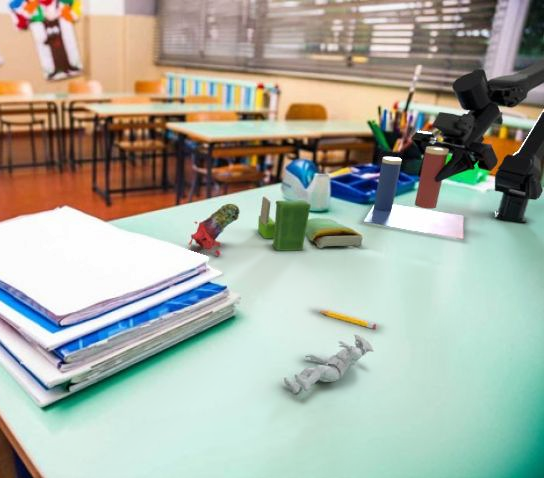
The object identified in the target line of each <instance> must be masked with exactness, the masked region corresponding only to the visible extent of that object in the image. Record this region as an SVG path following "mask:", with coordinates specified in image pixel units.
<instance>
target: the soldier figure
mask: <svg viewBox="0 0 544 478" xmlns="http://www.w3.org/2000/svg"><path fill="white" fill-rule="evenodd" d="M353 336H354V341H355V342H354V344H355V346H353V345H350V344H347V342H345V341H342V340H341V341H337V343H338V344H339V346H338V347H340V348H343V349H341V350H340V351H338V352H337V353H336V354H332V355H331V356H330V357H329V358H325V357H322V356H318V355H315V354H307V355H305V358H310V359H309V360H308V361H309V362H313V361H317V363H319V364H318V365H316V367H305V368H303V370H302V371H301V372H300V374H294V379H295V382H293V381H291V380H290V379H289V378H288V377H284V378H283V381H284V384H285V385H286V386H287V388H289V389H290V390H291V392H293V394H296V395H297V394H298V393H299V392H300V390H301V389H302V390H303V391H305V392H308V391H309V390H310V389H311V386H313V385H314V384H315V383H317V381H320V382H323V383H329V382H331V383H332V382H337V381H339V380H340V379H341V378H342V377H343V376H344V374H345V373H346V371H347V369H349V368H351V367H353V366H355V363H357V362H358V361H359V360H360V359H361V358H362V357H363V356H365V355H366V354H367V353H369V352H374V349H373V347H372V344H371V343H370V342H369V341H368V340H366V339H365V338H364V337H363V336H361V335H358V334H353Z"/></svg>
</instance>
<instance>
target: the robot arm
mask: <svg viewBox="0 0 544 478" xmlns="http://www.w3.org/2000/svg"><path fill="white" fill-rule="evenodd" d="M543 84H544V58H542V59H541V60H539V61H537V62H535V63H533V64H531V65H529V66H528V67H525V68H523V69H522V70H520V71H517V72H516V73H514V74H513V73H512V74H508V75H501V76H497V77H493V78H490V79H489V80H488V78H487V73H486V71H485V69H484V68H482V69H481V68H474V70H473V71H472V72H468V73H466V74H464V75H461V76H460V77H459V78H456V79H455V80H454V81H453V83H452V90H453V92H454V94H455V96H456V99H457V101H458V103H459V105H460V107H461V109H463V110H464V111H467V112H466V113H462V114H461V115H460V114H455V113H451V112H450V113H449V112H443V111H439V112H438V113H437V115H436V117H435V119H434V121H433V123H432V125H431V127H432V128H435V129H437V130H438V131H439V137H440V138H441V139H443V140H439V139H437V138H436V137H435V134H434V133H433V132H428V131H423V130H422V131H421V130H420V131H419V130H418V131H416V132H415V133H414V134H413V135H412V136H411V137H410V140H411V142H412V143H413V146H414V147H415V149H416V150H417V152H418V154H419V155H421V156H422V159H421V162H420V164H419V167H418V170H417V172H416V175H417V177H418V178H420V176H421V171H422V166H423V161H424V156H425V152H426V147H429V146H435V147H444V148H447V149H449V151H448V155H449V154H450V155H451V157H450V159H448V161H446V165H445V166H444V167H443V168H442V169H441V171H440V172H439V173H438V174H437V176H436V177H435V181H436V182H439V181H442V182H443V181H444V180H447V179H449V178H451V177H453V176H457V175H459V174H461V173H464V172H468V171H474V170H475V169H476V166H475V165H477V169H479V170H483V171H487V172H491V171H493V169H494V168H495V167H497V165H498V161H499V158H498V157H497V154H496V152H495V150H494V148H493V146H492V144H491V143H486V142H484V141H485V137H484V135H485V134H486V133H487V131H488V130H489V129H490V128H491V127H492V126H493V125H496V126H497V125H498V126H502V125H503V121H504V119H503V114H504V113H503V112H502V111H501V110H500V108H499V107H502V108H510V109H512V108H515V107H517V106H518V105H520V104H521V103H522V102H524V101H525V100H526V99H527V98H528V94H529V92H531V91H532V90H533V89H536V88H537V87H539V86H541V85H543ZM543 156H544V109H543V110H542V112H541V113H540V115H539V117H538V119H537V120H536V122H535V124H534V125H533V127H532V129H531V130H530V132H529V134H528V136H526V139H525V140H524V142H523V143H522V145H521V147H520V148H519V150H518V151H517V152H515V153H514V154H510V153H508V154H506V155H505V156H504V157H503V160H502V162H501V163H500V164H499V166H498V167H497V170H496V172H495V175H494V191H495V192H499V193H502V195H501V199H500V203H499V207H498V209H497V210H494V217H495V219H497V220H503V221H510V222H515V223H522V224H526V223H527V219H526V216H525V213H526V211H527V208H528V205H529V201H530V200H531V201H537V200H538V199H540V197H541V196H542V194H543V192H544V189H543V187H542V184H541V181H540V179H539V178H540V176H541V174H542V164H541V159H542V158H543Z"/></svg>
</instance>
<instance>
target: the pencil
mask: <svg viewBox="0 0 544 478" xmlns="http://www.w3.org/2000/svg"><path fill="white" fill-rule="evenodd" d="M317 312H319V313H321V314H322V315H324V316H326V317H330V318H333V319H336V320H340V321H344V322H348V323H351V324H354V325H357V326H361V327H365V328H368V329H372V330H376V327H377V324H376V323H374V322H369V321H366V320H362V319H359V318H356V317H351V316H348V315H344V314H341V313H338V312H333V311H331V310H317Z"/></svg>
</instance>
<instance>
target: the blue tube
mask: <svg viewBox="0 0 544 478" xmlns="http://www.w3.org/2000/svg"><path fill="white" fill-rule="evenodd" d="M402 160H403V159H401V158H400V157H395V156H394V157H393V156H383V157H382V160H381V166H380V171H379V176H378V182H377V186H376V187H377V188H376V191H375V192H376V193H375V197H374V204H373V206H374V209H376V210H380V211H391V210H392V207H393V205H394V201H395V197H396V191H397V186H398V180H399V176H400V172H401V171H400V170H401V165H402Z"/></svg>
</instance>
